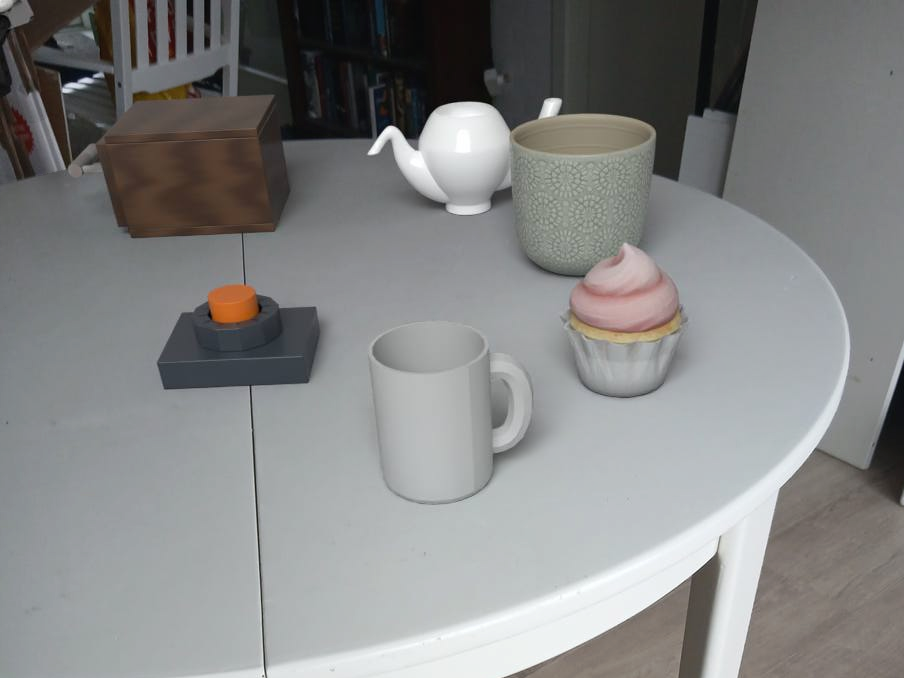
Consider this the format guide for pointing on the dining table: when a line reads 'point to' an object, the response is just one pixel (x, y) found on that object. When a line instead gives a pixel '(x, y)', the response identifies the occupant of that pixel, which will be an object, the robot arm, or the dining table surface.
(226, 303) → the button
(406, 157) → the teapot
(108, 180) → the drawer
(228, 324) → the control block
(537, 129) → the planter
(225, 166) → the cabinet
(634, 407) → the dining table surface
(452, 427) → the cup
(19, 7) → the robot arm
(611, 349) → the cupcake
